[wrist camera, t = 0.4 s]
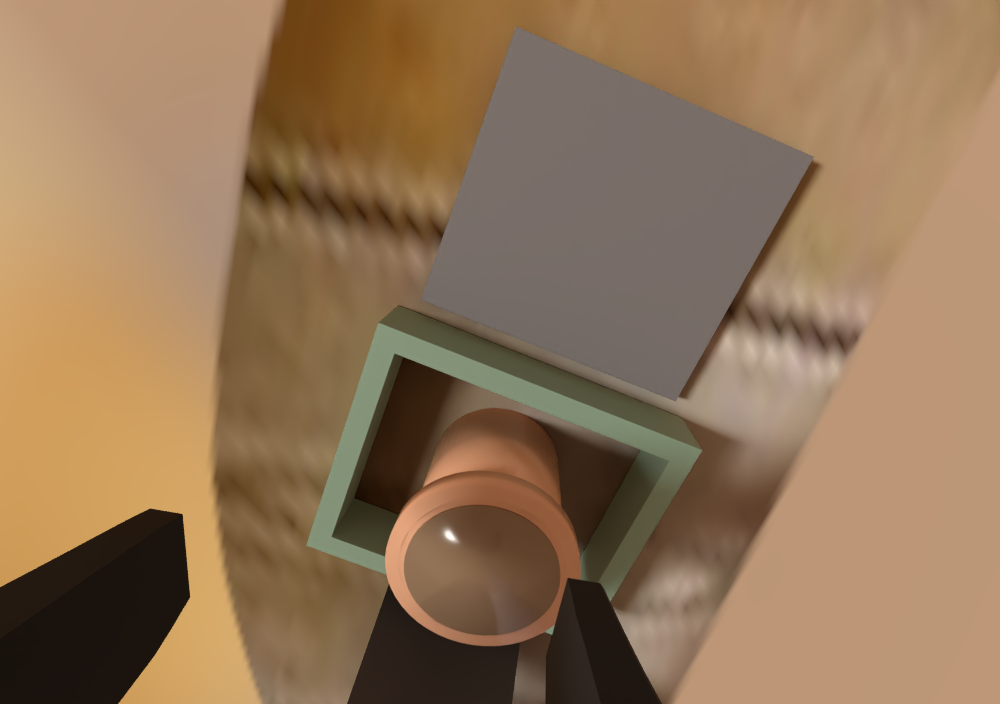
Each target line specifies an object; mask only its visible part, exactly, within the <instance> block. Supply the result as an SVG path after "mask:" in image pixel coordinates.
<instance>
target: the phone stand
mask: <svg viewBox="0 0 1000 704" xmlns="http://www.w3.org/2000/svg"><path fill="white" fill-rule="evenodd" d="M519 643H520V642H519ZM519 643H514V644H509V645H501V646H478V645H470V644H465V643H460V642H457V641H454V640H450V639H447V638H445V637H443V636H440V635H438V634H436V633H434V632H432V631H431V630H429V629H427V628H426V627H424V626H423V625H421V624H420V623H418V622H417V621H416V620H415V619H414V618H413V617H411V616H410V615H409V614H408V613H407V611H406V610H405V609H404V608H403V607H402V606H401V604H400V603H399V602H398V600H397V599H396V597H395V595H394V593H393V591H392V589H391V587H390V584H389V586H388V589H387V592H386V594H385V597H384V600H383V603H382V606H381V609H380V612H379V614H378V617H377V620H376V623H375V626H374V629H373V632H372V634H371V637H370V640H369V643H368V646H367V649H366V652H365V654H364V657H363V660H362V663H361V666H360V669H359V672H358V674H357V677H356V680H355V683H354V686H353V689H352V692H351V694H350V697H349V700H348V703H347V704H512V699H513V691H514V683H515V675H516V667H517V659H518V651H519Z"/></svg>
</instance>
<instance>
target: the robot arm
mask: <svg viewBox="0 0 1000 704" xmlns="http://www.w3.org/2000/svg"><path fill="white" fill-rule="evenodd" d="M183 526H184V525H183V515H182V514H179V513H172V512H167V511H161V510H155V509H149V510H147V511H144V512H143V513H140V514H138V515H136V516H134V517H132V518H130V519H128V520H126V521H125V522H123V523H121V524H119V525H117V526H115V527H113V528H111V529H109V530H107V531H105V532H104V533H102V534H100V535H98V536H96V537H94V538H92V539H90V540H89V541H87V542H85V543H83V544H81V545H79V546H78V547H76V548H74V549H72V550H70V551H68V552H66V553H64V554H63V555H61V556H59V557H57V558H55V559H53V560H51V561H49V562H47V563H45V564H44V565H42V566H40V567H38V568H36V569H34V570H32V571H30V572H28V573H26V574H25V575H23V576H21V577H19V578H17V579H15V580H13V581H11V582H10V583H7V584H6V585H4V586H2V587H0V704H118V703H119V702H120V700H121V699H122V698H123V697H124V695H125V694H126V693H127V691H128V690H129V688H130V687H131V686H132V685H133V683H134V682H135V681H136V679H137V678H138V677H139V675H140V674H141V673H142V671H143V670H144V669H145V667H146V666H147V665H148V663H149V662H150V661H151V659H152V658H153V657H154V655H155V654H156V652H157V651H158V649H159V648H160V646H161V644H162V642H163V641H164V639H165V638H166V636H167V635H168V633H169V632H170V630H171V628H172V627H173V625H174V623H175V622H176V620H177V618H178V616H179V615H180V613H181V612H182V609H183V608H184V606H185V605H186V603H187V601H188V600H189V598H190V591H189V581H188V570H187V558H186V548H185V536H184V527H183ZM546 704H662V703H661V701H660V699H659V698H658V696H657V694H656V692H655V690H654V688H653V687H652V685H651V683H650V681H649V679H648V677H647V676H646V674H645V672H644V670H643V668H642V666H641V664H640V662H639V660H638V658H637V656H636V654H635V652H634V650H633V648H632V646H631V644H630V642H629V640H628V638H627V636H626V634H625V632H624V630H623V628H622V626H621V624H620V622H619V620H618V618H617V615H616V613H615V611H614V609H613V607H612V605H611V603H610V600H609V598H608V596H607V594H606V591H605V589H604V588H603V586H602V585H601V584H600V583H597V582H591V581H584V580H578V579H572V578H567V582H566V585H565V589H564V593H563V597H562V600H561V604H560V608H559V611H558V615H557V619H556V622H555V626H554V630H553V633H552V637H551V641H550V645H549V648H548V652H547V656H546Z"/></svg>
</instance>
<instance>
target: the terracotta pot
mask: <svg viewBox="0 0 1000 704" xmlns="http://www.w3.org/2000/svg"><path fill="white" fill-rule="evenodd" d="M385 568H386V574H387V579H388V581H389V584H390V587H391V589H392V591H393V593H394V595H395V597H396V599H397V600H398V602H399V603H400V604H401V606H402V607H403V608H404V609H405V610H406V611H407V613H408V614H409V615H410V616H411V617H413V618H414V619H415V620H416V621H417V622H418V623H420V624H421V625H423V626H424V627H426V628H427V629H429V630H431V631H432V632H434V633H436V634H438V635H440V636H443V637H445V638H447V639H450V640H454V641H457V642H460V643H465V644H470V645H478V646H501V645H509V644H514V643H519V642H522V641H525V640H528V639H531V638H533V637H535V636H537V635H540V634H542V633H543V632H545V631H546V630H548V629H550V628H551V627H552V626H553V625H555V622H556V619H557V615H558V611H559V608H560V604H561V600H562V597H563V593H564V589H565V585H566V582H567V578H572V579H578V580H580V578H581V564H580V556H579V548H578V542H577V537H576V533H575V530H574V528H573V525H572V523H571V521H570V519H569V518H568V516H567V514H566V513H565V511H564V510H563V509H562V505H561V493H560V482H559V470H558V458H557V453H556V450H555V447H554V444H553V442H552V440H551V438H550V437H549V435H548V434H547V433H546V431H545V430H544V429H543V428H542V427H541V426H540V425H539V424H538V423H536V422H535V421H534V420H532V419H531V418H529V417H527V416H525V415H523V414H521V413H518V412H515V411H512V410H507V409H500V408H488V409H481V410H477V411H474V412H471V413H468V414H466V415H464V416H462V417H461V418H459V419H458V420H456V421H455V422H454V423H453V424H451V426H450V427H449V428H448V429H447V430H446V431H445V433H444V434H443V436H442V438H441V440H440V442H439V445H438V447H437V450H436V453H435V455H434V458H433V461H432V463H431V466H430V469H429V471H428V474H427V477H426V480H425V482H424V485H423V488H421V489H420V490H419V491H418V492H416V493H415V494H414V495H413V496H412V497H411V498H410V499H409V500H408V501H407V503H406V504H405V506H404V507H403V509H402V510H401V512H400V514H399V516H398V518H397V520H396V522H395V525H394V527H393V530H392V532H391V535H390V537H389V540H388V544H387V547H386V554H385Z"/></svg>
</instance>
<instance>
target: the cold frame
mask: <svg viewBox="0 0 1000 704" xmlns="http://www.w3.org/2000/svg"><path fill="white" fill-rule="evenodd" d="M403 357H405V358H407V359H410V360H413V361H415V362H418V363H420V364H423V365H425V366H428V367H430V368H433V369H436V370H438V371H441V372H443V373H446V374H448V375H451V376H453V377H456V378H459V379H461V380H464V381H466V382H469V383H471V384H474V385H476V386H479V387H482V388H484V389H487V390H489V391H492V392H494V393H497V394H500V395H502V396H505V397H507V398H510V399H512V400H515V401H517V402H520V403H523V404H525V405H528V406H530V407H533V408H535V409H538V410H540V411H543V412H546V413H548V414H551V415H553V416H556V417H558V418H561V419H563V420H566V421H569V422H571V423H574V424H576V425H579V426H581V427H584V428H587V429H589V430H592V431H594V432H597V433H599V434H602V435H604V436H607V437H610V438H612V439H615V440H617V441H620V442H622V443H625V444H627V445H630V446H633V447H635V448H638V449H640V452H639V454H638V455H637V457H636V459H635V461H634V462H633V464H632V466H631V468H630V470H629V471H628V473H627V475H626V477H625V479H624V480H623V482H622V484H621V486H620V487H619V489H618V491H617V493H616V495H615V496H614V498H613V500H612V502H611V503H610V505H609V507H608V509H607V511H606V512H605V514H604V516H603V518H602V520H601V521H600V523H599V525H598V527H597V528H596V530H595V532H594V534H593V536H592V537H591V539H590V541H589V543H588V545H587V546H586V548H585V550H584V552H583V553H582V555H581V557H580V564H581V578H580V580H584V581H591V582H597V583H600V584H601V585H602V586H603V588H604V589H605V591H606V594H607V596H608V598H609V600H610V601H611V600H612V598H613V596H614V595H615V593H616V591H617V590H618V588H619V586H620V585H621V583H622V582H623V580H624V578H625V577H626V575H627V573H628V572H629V570H630V568H631V567H632V565H633V564H634V562H635V560H636V559H637V557H638V555H639V554H640V552H641V550H642V549H643V547H644V545H645V544H646V542H647V541H648V539H649V537H650V536H651V534H652V532H653V531H654V529H655V527H656V526H657V524H658V522H659V521H660V519H661V518H662V516H663V514H664V513H665V511H666V509H667V508H668V506H669V504H670V503H671V501H672V499H673V498H674V496H675V495H676V493H677V491H678V490H679V488H680V486H681V485H682V483H683V481H684V480H685V478H686V476H687V475H688V473H689V472H690V470H691V468H692V467H693V465H694V463H695V462H696V460H697V458H698V457H699V455H700V453H701V452H702V449H701V447H700V446H699V444H698V443H697V441H696V439H695V438H694V436H693V435H692V433H691V432H690V430H689V428H688V427H687V425H686V424H685V422H684V421H683V419H682V418H681V417H679V416H676V415H674V414H671V413H668V412H666V411H663V410H661V409H658V408H656V407H653V406H651V405H648V404H646V403H643V402H641V401H638V400H636V399H633V398H631V397H628V396H626V395H623V394H621V393H618V392H616V391H613V390H611V389H608V388H605V387H603V386H600V385H598V384H595V383H593V382H590V381H588V380H585V379H583V378H580V377H578V376H575V375H573V374H570V373H568V372H565V371H563V370H560V369H558V368H555V367H553V366H550V365H548V364H545V363H543V362H540V361H537V360H535V359H532V358H530V357H527V356H525V355H522V354H520V353H517V352H515V351H512V350H510V349H507V348H505V347H502V346H500V345H497V344H495V343H492V342H490V341H487V340H485V339H482V338H480V337H477V336H474V335H472V334H469V333H467V332H464V331H462V330H459V329H457V328H454V327H452V326H449V325H447V324H444V323H442V322H439V321H437V320H434V319H432V318H429V317H427V316H424V315H422V314H419V313H417V312H414V311H412V310H409V309H406V308H404V307H401V306H399V305H398V306H397V307H396V308H395V309H394V310H393V311H391V312H390V313H389V314H388V315H387V316H386V317H384V318H383V319H382V320H381V321H380V322H379V323H378V326H377V329H376V332H375V335H374V338H373V341H372V344H371V347H370V350H369V354H368V357H367V360H366V363H365V366H364V369H363V372H362V375H361V378H360V381H359V384H358V388H357V391H356V394H355V397H354V400H353V403H352V406H351V409H350V412H349V415H348V418H347V422H346V425H345V428H344V431H343V434H342V437H341V440H340V443H339V446H338V449H337V452H336V456H335V459H334V462H333V465H332V468H331V471H330V474H329V477H328V480H327V483H326V487H325V490H324V493H323V496H322V499H321V502H320V505H319V508H318V511H317V514H316V517H315V521H314V524H313V527H312V530H311V533H310V536H309V539H308V542H307V545H306V546H309V547H312V548H314V549H317V550H320V551H323V552H325V553H328V554H331V555H334V556H336V557H339V558H342V559H345V560H347V561H350V562H353V563H356V564H358V565H361V566H364V567H367V568H369V569H372V570H375V571H378V572H380V573H383V574H386V568H385V554H386V547H387V544H388V540H389V537H390V535H391V532H392V530H393V527H394V525H395V522H396V520H397V518H398V516H399V515H398V514H395V513H393V512H390V511H387V510H385V509H382V508H379V507H377V506H374V505H371V504H368V503H366V502H363V501H360V500H358V499H355V498H354V497H355V494H356V491H357V488H358V485H359V483H360V480H361V477H362V474H363V471H364V468H365V465H366V463H367V460H368V457H369V454H370V451H371V448H372V445H373V443H374V440H375V437H376V434H377V431H378V428H379V425H380V423H381V420H382V417H383V414H384V411H385V408H386V405H387V402H388V400H389V397H390V394H391V391H392V388H393V385H394V382H395V380H396V377H397V374H398V371H399V368H400V365H401V362H402V360H403ZM386 575H387V574H386ZM554 626H555V625H553V626H552V627H551V628H550V629H548V630H546V631H545V632H546V633H548V634H551V635H552V633H553V630H554Z"/></svg>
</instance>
